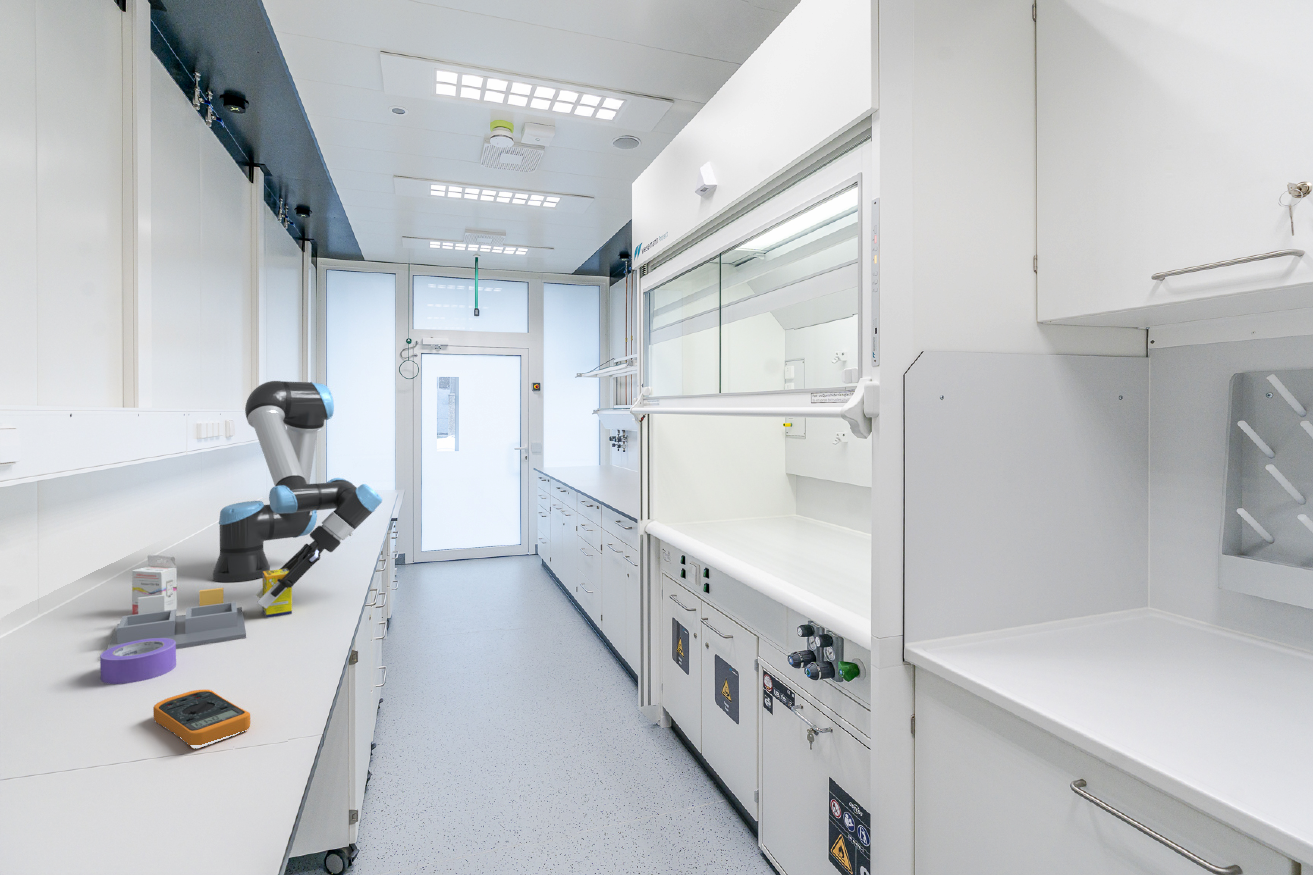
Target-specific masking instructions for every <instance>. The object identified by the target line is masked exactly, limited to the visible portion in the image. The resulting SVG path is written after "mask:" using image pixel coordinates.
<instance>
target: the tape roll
mask: <svg viewBox="0 0 1313 875" xmlns="http://www.w3.org/2000/svg"><path fill="white" fill-rule="evenodd" d="M176 651H177V649H176V642H175V641H174V640H173V639H169V638H152V639H143V640H138V641H132V642H128V643H124V644H121V645H117V646H115V647H112V648H110V649H108V650H107V649H105V650H104V651H103V652H101V654H100V655H99V661H100V662H99V664H100V665H99V666H100V680H101V682H102V683H105V684H110V685H120V684H121V685H123V684H132V683H139V682H144V681H148V680H152V679H155V678H158V677H161V676H163V675H166V674H167V673H170V672H172V671H173V670H174V669H175V668H176V666H177V652H176Z"/></svg>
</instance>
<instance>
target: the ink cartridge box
mask: <svg viewBox="0 0 1313 875" xmlns="http://www.w3.org/2000/svg"><path fill="white" fill-rule="evenodd" d="M160 560H163V561H161V562H160ZM176 560H177V558H176V557H175V556H173V555H172V556H171V555H156V554H155V555H152V554H148V555H147V563H148V564H147V565H148V566H144V567H141V568H136V569H131V576H132V577H131V578H132V581H131V588H132V589H131V591H132V592H131V597H132V598H131V599H132V602H131V603H132V604H131V606H132V607H131V609H132V612H131V615H136V614H138V598H139V597H148V596H156V595H165V611H167V610H174V609H176V612H178V583H177V582H178V580H177V578H178V577H177V576H178V573H177V571H178V568H177V563H176V562H177V561H176ZM165 561H166V562H165Z"/></svg>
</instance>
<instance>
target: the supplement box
mask: <svg viewBox="0 0 1313 875" xmlns="http://www.w3.org/2000/svg"><path fill="white" fill-rule="evenodd" d="M288 572H289V570H288V569H287V568H286V569H280V568H279V569H273V570H272V569H270V571H263V572H262V588H263V595H264V594H265V593H267V592H268V591H269V590H270V589H271V588H272V587H273V586H274V585H275V584H276V583H277V582H278V581H277V580H278V579H282V578H283V577H284V576H285V575H286V574H287V573H288ZM262 613H263V614H264V615H265V618H267V619H269V618H274V616H275V617H280V616H286V615H292V614H293V586H292V587H291V588H290V587H288V588H287V589H286V590H285V591H284V592H283V593H282V594H281V595H280V596H279V597H278V598H276V599H275V600H274V601H273V602H272V603H271V604H270V605H269V606H268V607H267V608H265V607H263V606H262Z"/></svg>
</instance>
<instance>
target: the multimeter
mask: <svg viewBox="0 0 1313 875" xmlns="http://www.w3.org/2000/svg"><path fill="white" fill-rule="evenodd" d="M152 712H153V720H154V722H155V721H156V723H157V724H158V723H159V724H158V725H160V724H161V725H162V726H161V725H160V726H161V727H163V726H164V727H166V728H167V729H166V728H165V729H166V730H168V729H169V730H170V731H169V730H168V731H169V732H171V733H172V732H174V733H175V734H176V735H177V736H176V735H175V734H174V733H173V734H174V735H175V736H176V737H178V736H179V737H181V738H182V739H183V740H184V741H185V742H187V743H188V744H189V745H202V744H205V743H208V742H211V741H214V740H217V739H221V738H223V737H226V736H230V735H233V734H236V733H238V732H242V731H245V730H247V729H248V730H249V729H250V727H251V712H249V711H247V710H245V709H244V708H241V707H239V706H238V705H235V704H234V703H232V702H231V701H229V700H227V699H225V698H224V697H223V696H221V695H219V694H218V693H217V692H214V690H212V689H211V690H210V689H196V690H189V691H187V692H183V693H180V694H177V695H173V696H171V697H167V698H165V699H162V700H160V701H159V702H157V703H156V704H154V705H153V711H152ZM164 727H163V728H164ZM248 730H247V731H248ZM179 737H178V738H179ZM182 739H181V740H182ZM183 740H182V741H183ZM184 741H183V742H184ZM185 742H184V743H185ZM188 744H187V745H188ZM189 745H188V746H189Z"/></svg>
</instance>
